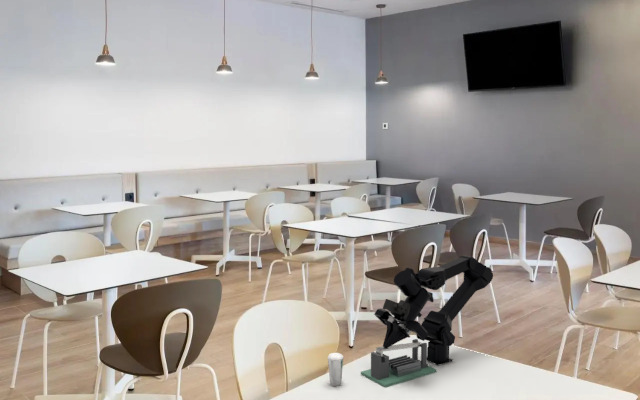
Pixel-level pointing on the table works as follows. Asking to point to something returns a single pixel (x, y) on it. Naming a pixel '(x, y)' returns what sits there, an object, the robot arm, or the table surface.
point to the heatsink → (403, 366)
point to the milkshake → (335, 368)
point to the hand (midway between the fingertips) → (384, 347)
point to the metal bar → (397, 347)
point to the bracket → (423, 354)
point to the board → (396, 380)
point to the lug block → (379, 366)
